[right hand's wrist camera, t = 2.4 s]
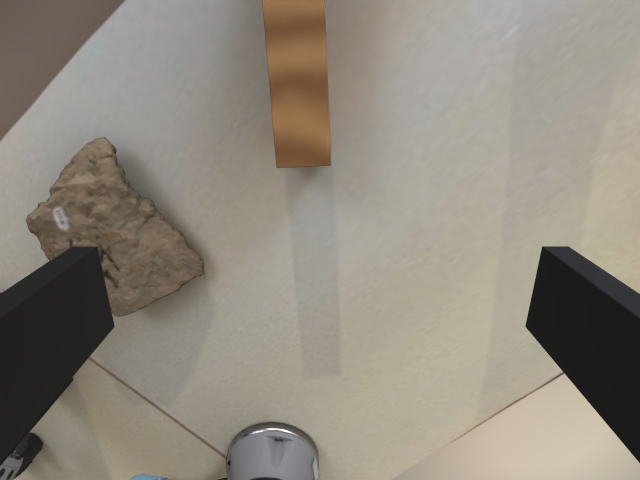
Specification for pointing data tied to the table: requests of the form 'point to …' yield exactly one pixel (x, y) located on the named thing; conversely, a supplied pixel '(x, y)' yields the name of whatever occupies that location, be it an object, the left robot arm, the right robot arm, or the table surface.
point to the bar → (298, 81)
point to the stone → (114, 230)
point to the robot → (20, 457)
